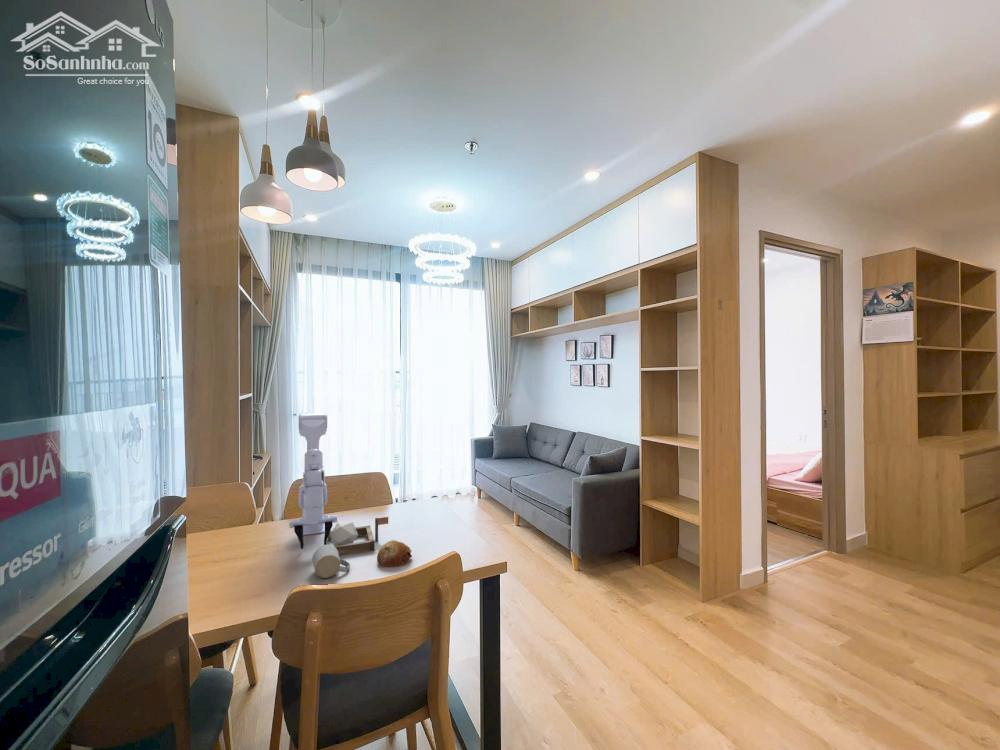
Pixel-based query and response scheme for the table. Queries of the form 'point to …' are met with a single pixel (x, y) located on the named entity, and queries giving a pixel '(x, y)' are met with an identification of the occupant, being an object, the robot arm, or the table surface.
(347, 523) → the die
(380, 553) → the bread roll
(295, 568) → the table surface
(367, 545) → the wooden tray
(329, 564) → the ceramic mug
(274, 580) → the table surface
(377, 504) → the table surface
